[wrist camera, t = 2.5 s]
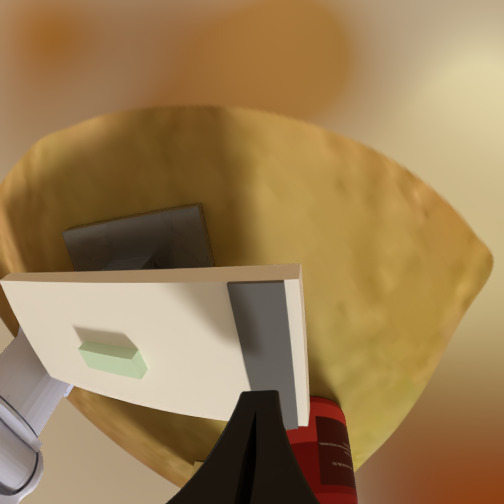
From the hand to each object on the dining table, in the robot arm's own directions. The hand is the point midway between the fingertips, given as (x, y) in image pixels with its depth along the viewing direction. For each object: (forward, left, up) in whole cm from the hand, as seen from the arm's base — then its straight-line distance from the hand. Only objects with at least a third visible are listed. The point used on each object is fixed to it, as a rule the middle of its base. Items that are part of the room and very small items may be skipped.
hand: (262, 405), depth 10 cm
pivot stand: (-6, +5, -9) cm, 12 cm away
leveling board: (-6, +5, -4) cm, 9 cm away
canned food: (-8, -12, -9) cm, 17 cm away
